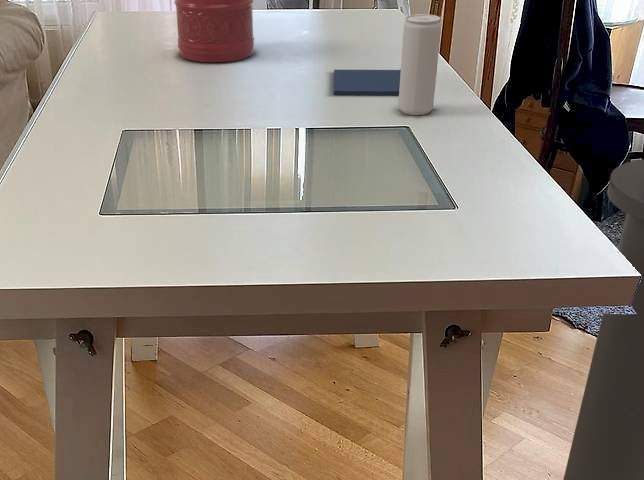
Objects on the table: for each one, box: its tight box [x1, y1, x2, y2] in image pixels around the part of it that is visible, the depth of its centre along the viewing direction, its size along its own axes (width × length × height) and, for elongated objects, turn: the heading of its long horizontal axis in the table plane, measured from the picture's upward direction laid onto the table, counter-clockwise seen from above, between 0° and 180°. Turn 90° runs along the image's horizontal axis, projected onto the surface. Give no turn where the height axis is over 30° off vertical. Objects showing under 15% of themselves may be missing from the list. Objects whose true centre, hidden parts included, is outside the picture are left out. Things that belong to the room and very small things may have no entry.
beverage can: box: [397, 13, 442, 116], centre depth 112 cm, size 5×5×12 cm
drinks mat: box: [333, 69, 401, 96], centre depth 127 cm, size 12×12×1 cm
